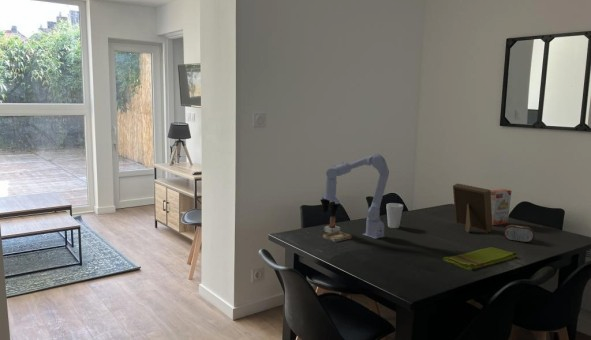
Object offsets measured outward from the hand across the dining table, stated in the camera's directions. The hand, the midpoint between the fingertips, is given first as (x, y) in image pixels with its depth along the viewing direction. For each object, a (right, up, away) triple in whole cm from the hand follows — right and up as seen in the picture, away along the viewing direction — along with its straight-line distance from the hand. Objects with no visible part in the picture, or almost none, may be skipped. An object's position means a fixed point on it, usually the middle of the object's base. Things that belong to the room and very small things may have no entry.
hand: (329, 213), depth 259 cm
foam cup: (+39, -9, +16) cm, 43 cm away
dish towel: (+69, -19, -36) cm, 80 cm away
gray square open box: (+2, -10, +1) cm, 11 cm away
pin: (+2, -10, +1) cm, 10 cm away
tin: (+101, -14, -6) cm, 102 cm away
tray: (+3, -12, -10) cm, 16 cm away
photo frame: (+82, -11, +16) cm, 84 cm away
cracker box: (+105, -9, +29) cm, 109 cm away
